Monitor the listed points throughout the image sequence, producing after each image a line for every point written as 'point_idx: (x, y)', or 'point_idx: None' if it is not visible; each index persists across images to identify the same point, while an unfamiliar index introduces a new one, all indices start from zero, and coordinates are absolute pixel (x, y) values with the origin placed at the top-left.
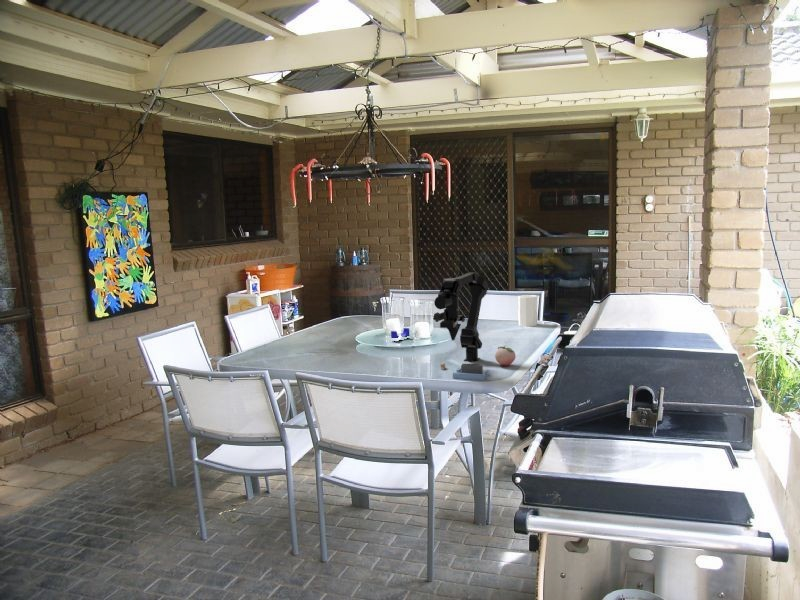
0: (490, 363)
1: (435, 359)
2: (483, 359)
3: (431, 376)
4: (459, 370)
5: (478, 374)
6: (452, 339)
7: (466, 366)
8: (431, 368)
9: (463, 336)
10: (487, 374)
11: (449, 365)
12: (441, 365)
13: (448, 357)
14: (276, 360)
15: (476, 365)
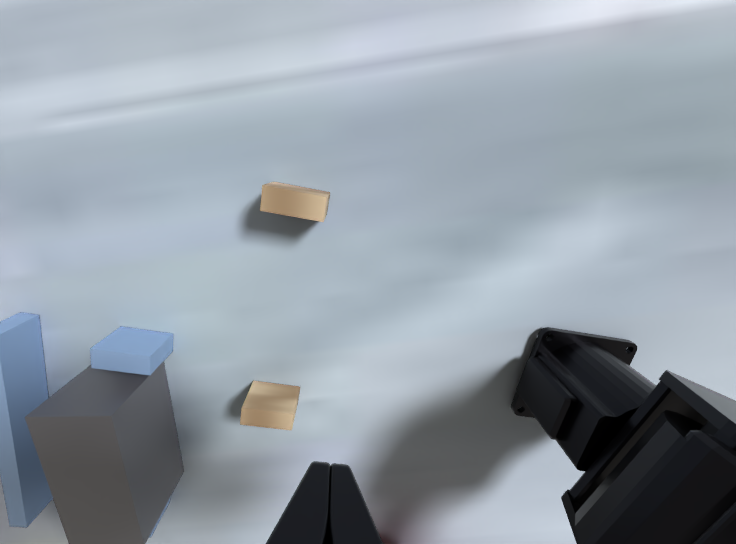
0: (470, 479)
1: (661, 73)
2: None
3: (28, 130)
4: (106, 365)
5: (7, 497)
6: (303, 484)
7: (41, 451)
8: (312, 85)
9: (718, 538)
10: None
11: (424, 235)
12: (265, 193)
13: (707, 190)
14: None
15: (78, 515)
